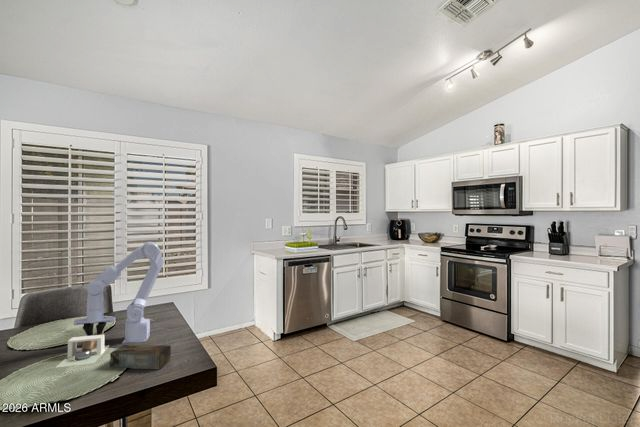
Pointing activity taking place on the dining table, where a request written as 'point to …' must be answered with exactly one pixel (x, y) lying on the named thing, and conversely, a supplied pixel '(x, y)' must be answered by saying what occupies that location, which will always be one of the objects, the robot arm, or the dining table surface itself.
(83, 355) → the token
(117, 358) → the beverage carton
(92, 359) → the floor board
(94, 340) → the blade batten
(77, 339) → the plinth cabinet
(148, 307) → the dining table surface
